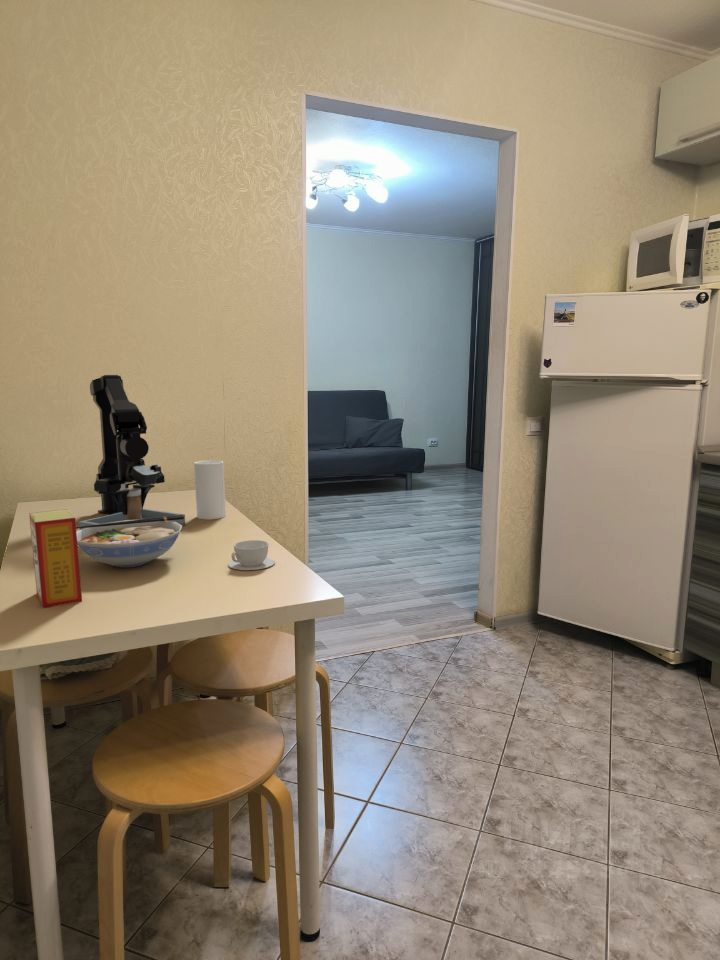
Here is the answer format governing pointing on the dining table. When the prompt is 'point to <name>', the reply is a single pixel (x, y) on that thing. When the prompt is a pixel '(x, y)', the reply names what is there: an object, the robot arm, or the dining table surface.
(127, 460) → the robot arm
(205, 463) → the cup
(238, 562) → the teacup
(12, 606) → the dining table surface
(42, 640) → the dining table surface
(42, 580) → the baking soda box
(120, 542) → the ramen bowl
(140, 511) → the shaker
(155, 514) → the tray
